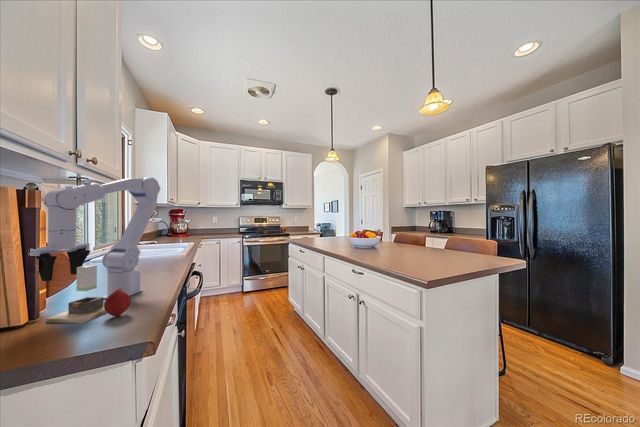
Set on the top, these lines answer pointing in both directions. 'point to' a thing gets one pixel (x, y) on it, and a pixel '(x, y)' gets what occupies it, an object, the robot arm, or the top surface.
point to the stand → (80, 311)
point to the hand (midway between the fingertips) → (61, 277)
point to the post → (86, 278)
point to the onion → (117, 303)
